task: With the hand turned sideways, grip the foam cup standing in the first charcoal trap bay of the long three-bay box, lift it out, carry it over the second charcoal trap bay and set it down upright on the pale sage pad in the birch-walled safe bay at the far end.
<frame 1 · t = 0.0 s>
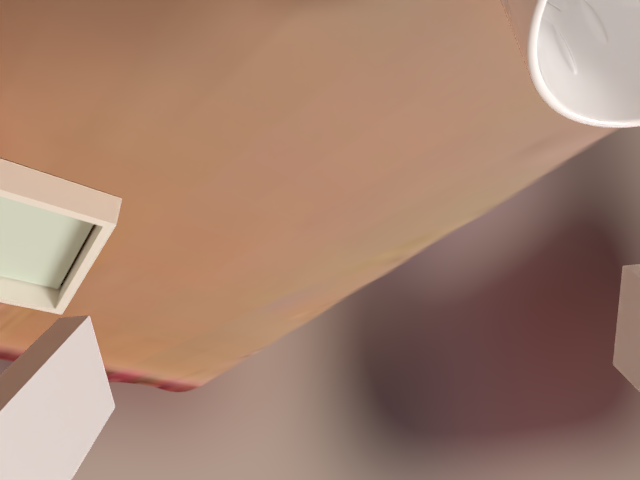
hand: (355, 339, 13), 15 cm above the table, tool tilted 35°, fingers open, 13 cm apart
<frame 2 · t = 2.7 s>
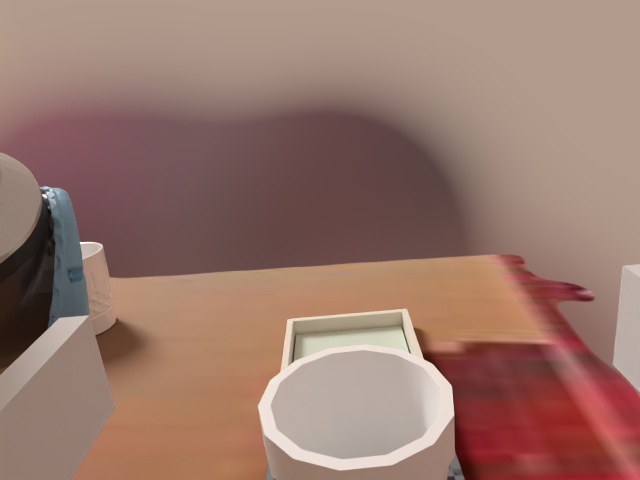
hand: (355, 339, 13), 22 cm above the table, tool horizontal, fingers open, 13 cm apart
white cup: (89, 328, 64), on the table
trap box: (359, 441, 40), on the table
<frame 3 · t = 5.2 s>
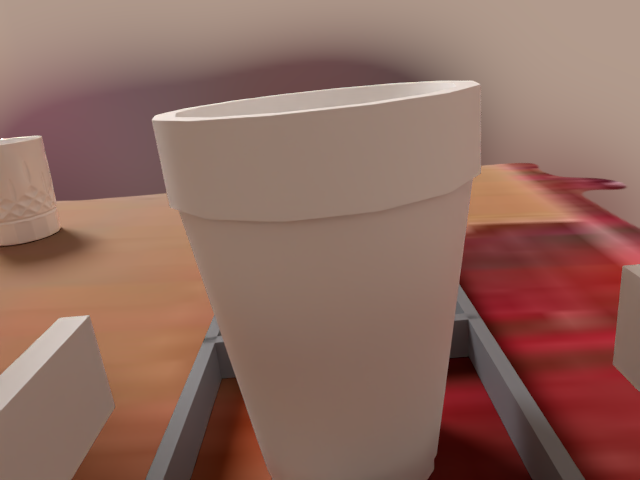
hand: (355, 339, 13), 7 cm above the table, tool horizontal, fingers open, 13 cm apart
foam cup: (350, 454, 19), on the table
white cup: (27, 237, 54), on the table
trap box: (339, 310, 30), on the table
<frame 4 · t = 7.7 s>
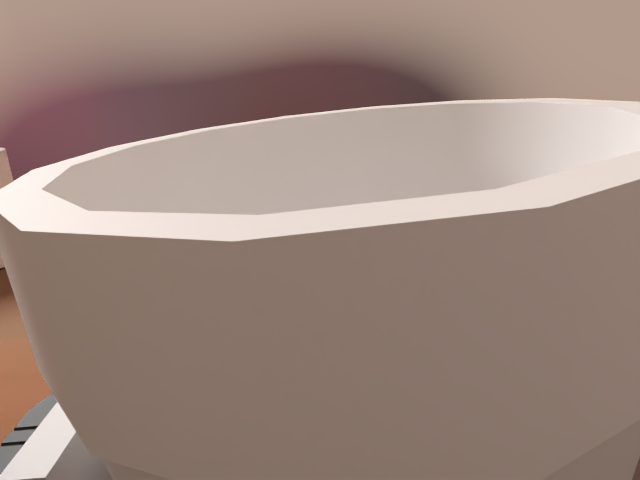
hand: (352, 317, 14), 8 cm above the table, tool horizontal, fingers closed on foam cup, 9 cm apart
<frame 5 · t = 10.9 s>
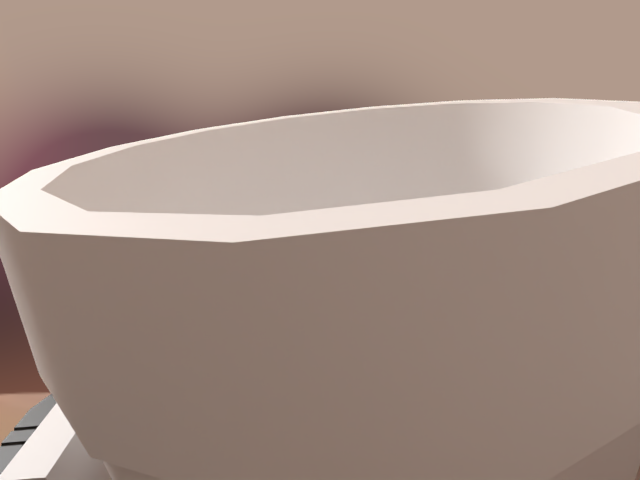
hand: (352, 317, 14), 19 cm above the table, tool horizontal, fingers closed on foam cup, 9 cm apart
when the fingers open (9 cm above the table, at t = 14.2 s): foam cup drops 1 cm, resting on trap box.
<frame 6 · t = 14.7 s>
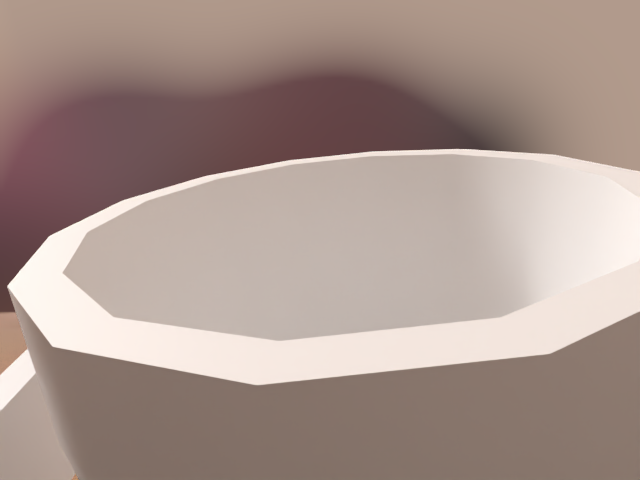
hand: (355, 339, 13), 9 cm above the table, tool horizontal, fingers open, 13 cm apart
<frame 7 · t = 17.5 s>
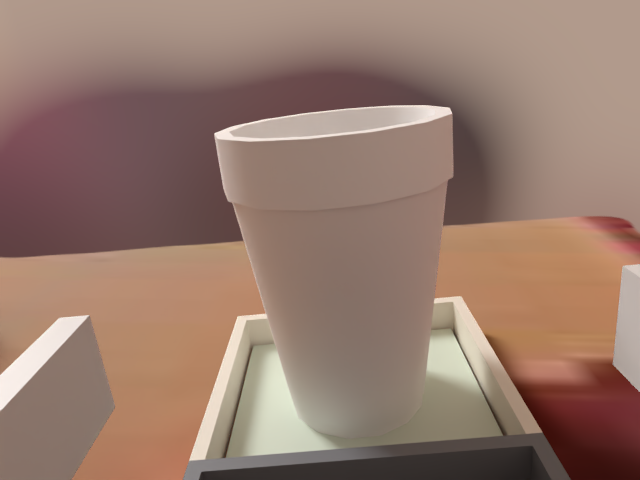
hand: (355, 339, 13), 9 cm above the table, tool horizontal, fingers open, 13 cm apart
foam cup: (357, 396, 25), resting on trap box
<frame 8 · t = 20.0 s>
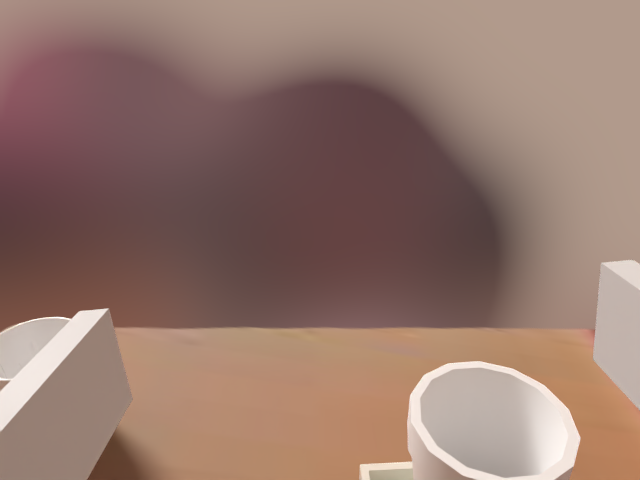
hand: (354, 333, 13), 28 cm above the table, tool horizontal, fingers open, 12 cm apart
white cup: (62, 434, 46), on the table
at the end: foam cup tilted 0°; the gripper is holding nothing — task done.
